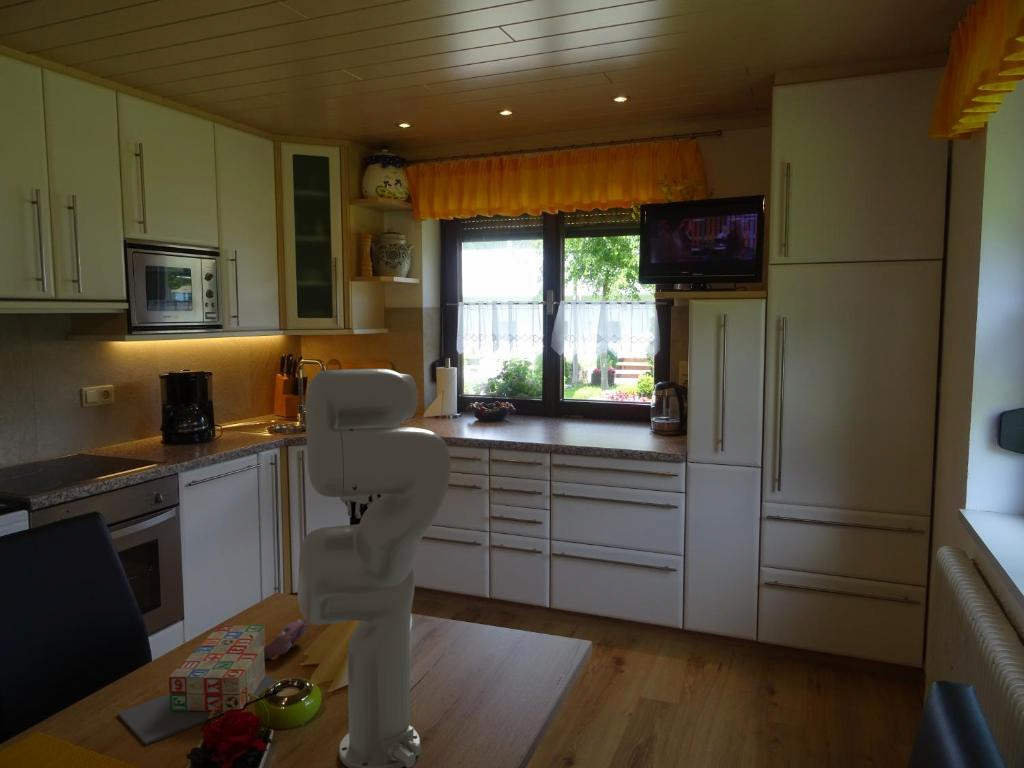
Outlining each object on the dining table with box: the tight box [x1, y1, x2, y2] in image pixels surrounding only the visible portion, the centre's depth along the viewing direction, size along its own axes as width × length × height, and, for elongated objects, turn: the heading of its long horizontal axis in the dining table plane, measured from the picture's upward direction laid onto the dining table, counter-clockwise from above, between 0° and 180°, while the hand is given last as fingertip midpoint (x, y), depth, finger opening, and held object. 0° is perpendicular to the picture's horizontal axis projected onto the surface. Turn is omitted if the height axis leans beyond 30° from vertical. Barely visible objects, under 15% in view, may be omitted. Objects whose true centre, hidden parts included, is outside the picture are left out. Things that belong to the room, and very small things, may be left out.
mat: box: [117, 673, 278, 746], centre depth 129 cm, size 12×24×1 cm, turn 137°
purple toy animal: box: [264, 618, 310, 660], centre depth 148 cm, size 10×5×7 cm, turn 165°
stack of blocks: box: [168, 624, 266, 712], centre depth 135 cm, size 21×6×12 cm
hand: (359, 536), depth 136 cm, fingers closed
